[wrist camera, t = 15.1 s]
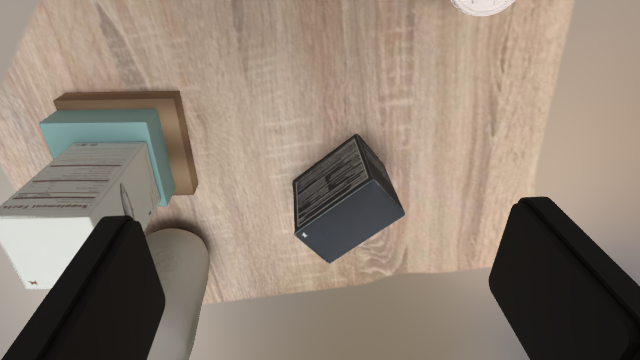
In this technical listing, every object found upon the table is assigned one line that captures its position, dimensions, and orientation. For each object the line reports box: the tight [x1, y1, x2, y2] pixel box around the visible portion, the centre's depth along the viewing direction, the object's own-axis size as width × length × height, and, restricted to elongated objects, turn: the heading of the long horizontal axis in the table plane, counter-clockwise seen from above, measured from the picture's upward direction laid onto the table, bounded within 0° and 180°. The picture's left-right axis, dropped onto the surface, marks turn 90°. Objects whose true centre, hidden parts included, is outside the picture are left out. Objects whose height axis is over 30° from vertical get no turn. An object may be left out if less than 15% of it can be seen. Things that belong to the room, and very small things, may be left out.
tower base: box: [54, 91, 198, 195], centre depth 43 cm, size 12×12×4 cm
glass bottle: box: [146, 228, 209, 360], centre depth 40 cm, size 10×10×28 cm
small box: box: [293, 134, 405, 264], centre depth 43 cm, size 11×6×10 cm, turn 129°
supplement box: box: [0, 142, 161, 289], centre depth 34 cm, size 7×7×13 cm
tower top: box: [38, 109, 175, 206], centre depth 40 cm, size 10×10×4 cm
